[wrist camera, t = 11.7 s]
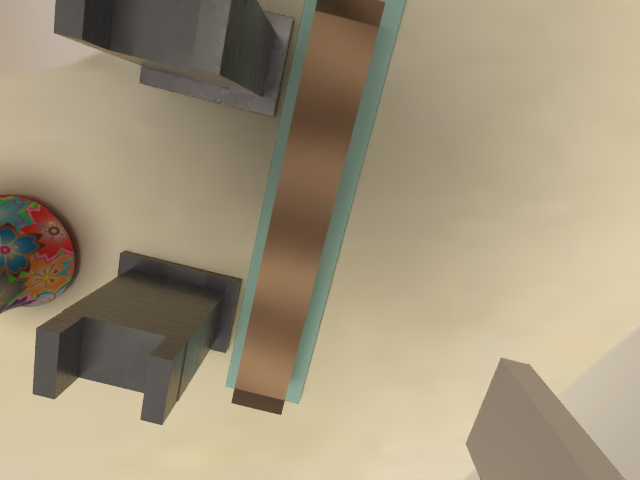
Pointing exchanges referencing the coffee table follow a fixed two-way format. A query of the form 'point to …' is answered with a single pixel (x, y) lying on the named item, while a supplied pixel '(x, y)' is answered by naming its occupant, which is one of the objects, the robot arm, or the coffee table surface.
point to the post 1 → (189, 45)
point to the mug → (32, 254)
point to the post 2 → (139, 332)
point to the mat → (344, 195)
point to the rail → (306, 195)
